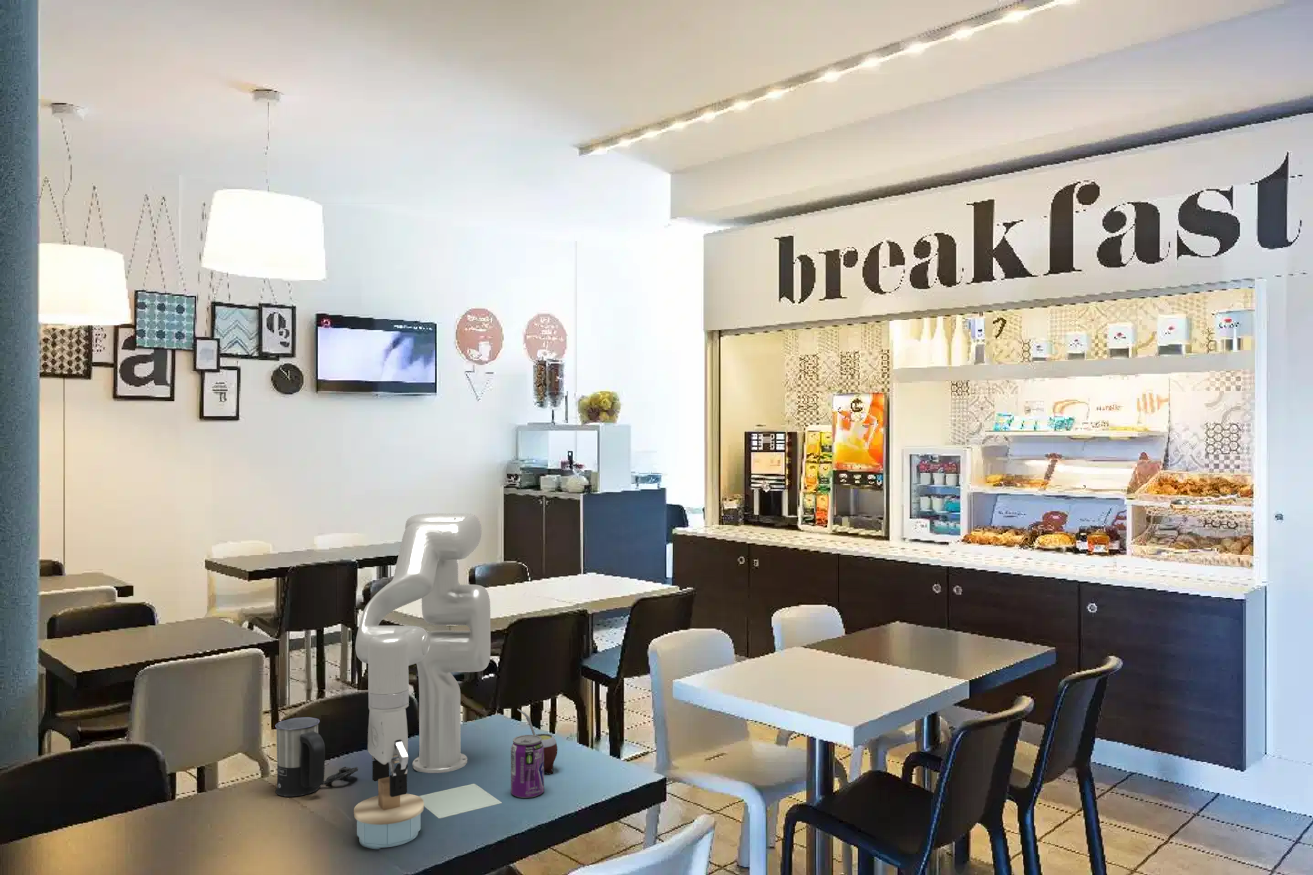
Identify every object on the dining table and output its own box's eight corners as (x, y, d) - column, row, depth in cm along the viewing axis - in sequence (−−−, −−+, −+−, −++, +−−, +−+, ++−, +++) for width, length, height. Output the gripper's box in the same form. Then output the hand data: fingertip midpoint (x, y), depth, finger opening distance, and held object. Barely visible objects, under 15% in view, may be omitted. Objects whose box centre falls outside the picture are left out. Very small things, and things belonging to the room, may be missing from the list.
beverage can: (537, 801, 199) (537, 745, 200) (506, 799, 201) (505, 743, 201) (548, 789, 206) (548, 734, 207) (517, 787, 208) (517, 733, 208)
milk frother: (265, 794, 205) (265, 725, 205) (317, 770, 219) (317, 707, 220) (316, 803, 199) (316, 733, 200) (366, 778, 214) (366, 713, 214)
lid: (345, 807, 184) (345, 777, 184) (409, 793, 191) (409, 763, 191) (366, 830, 173) (366, 797, 173) (433, 813, 180) (433, 782, 180)
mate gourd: (563, 769, 219) (563, 705, 219) (541, 779, 213) (541, 713, 213) (538, 763, 223) (538, 700, 223) (516, 773, 217) (516, 708, 217)
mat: (413, 799, 201) (413, 797, 201) (474, 785, 209) (474, 783, 209) (439, 820, 190) (439, 818, 190) (502, 804, 198) (502, 802, 198)
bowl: (351, 834, 183) (351, 808, 183) (406, 820, 190) (406, 796, 190) (370, 854, 174) (370, 827, 174) (427, 839, 181) (426, 813, 181)
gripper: (355, 692, 187) (355, 778, 187) (385, 713, 173) (385, 806, 173) (392, 686, 191) (392, 770, 192) (424, 706, 177) (424, 796, 177)
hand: (389, 787), depth 182 cm, fingers open, 9 cm apart
